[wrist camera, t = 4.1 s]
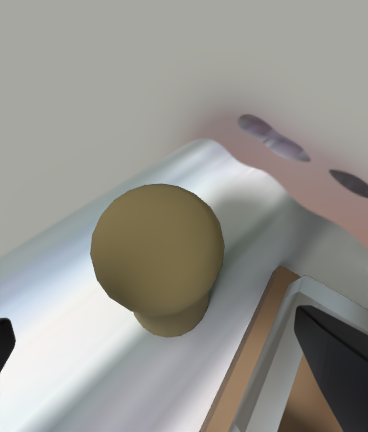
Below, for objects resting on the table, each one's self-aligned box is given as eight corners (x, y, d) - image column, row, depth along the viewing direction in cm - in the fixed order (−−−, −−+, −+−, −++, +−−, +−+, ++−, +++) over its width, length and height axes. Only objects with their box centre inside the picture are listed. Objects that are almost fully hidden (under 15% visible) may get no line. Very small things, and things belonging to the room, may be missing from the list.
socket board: (445, 371, 14) (528, 379, 11) (432, 657, 9) (577, 837, 6) (273, 271, 18) (295, 253, 14) (194, 442, 13) (198, 478, 9)
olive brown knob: (194, 352, 15) (216, 363, 6) (116, 318, 16) (19, 278, 7) (218, 269, 18) (260, 184, 8) (150, 245, 19) (119, 145, 9)
